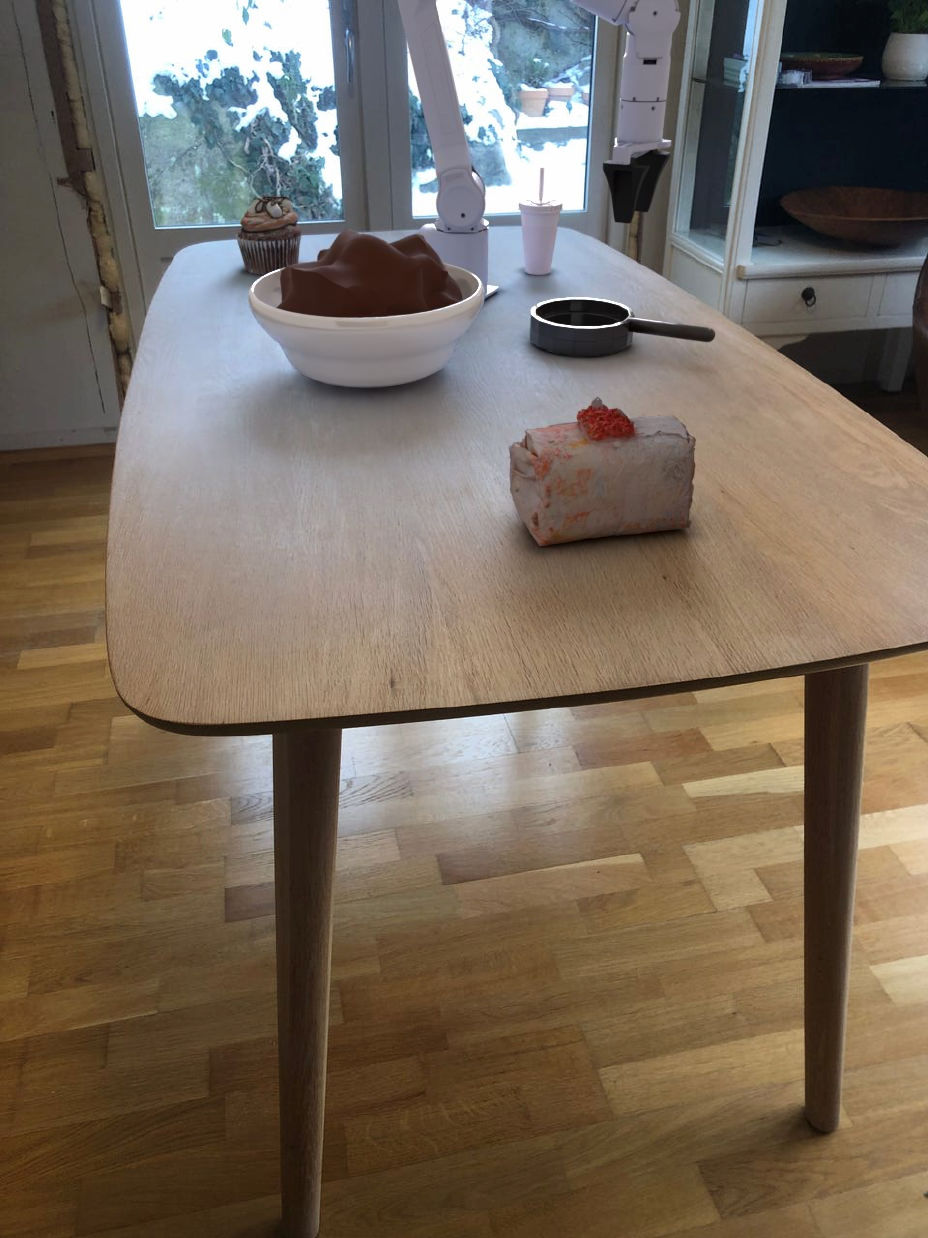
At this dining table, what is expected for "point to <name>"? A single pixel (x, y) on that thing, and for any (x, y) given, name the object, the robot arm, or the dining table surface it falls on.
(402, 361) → the bowl of chocolate mousse
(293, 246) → the cupcake
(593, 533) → the food item
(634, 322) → the pan handle
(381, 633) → the dining table surface
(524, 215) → the smoothie
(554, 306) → the pan
